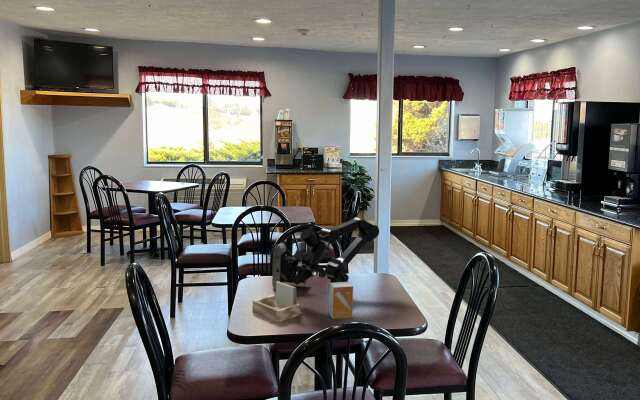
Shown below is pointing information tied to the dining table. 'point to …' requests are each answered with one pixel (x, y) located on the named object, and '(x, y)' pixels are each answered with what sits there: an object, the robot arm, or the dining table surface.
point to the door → (285, 294)
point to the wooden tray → (275, 309)
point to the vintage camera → (282, 266)
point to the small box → (340, 300)
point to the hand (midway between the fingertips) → (295, 284)
